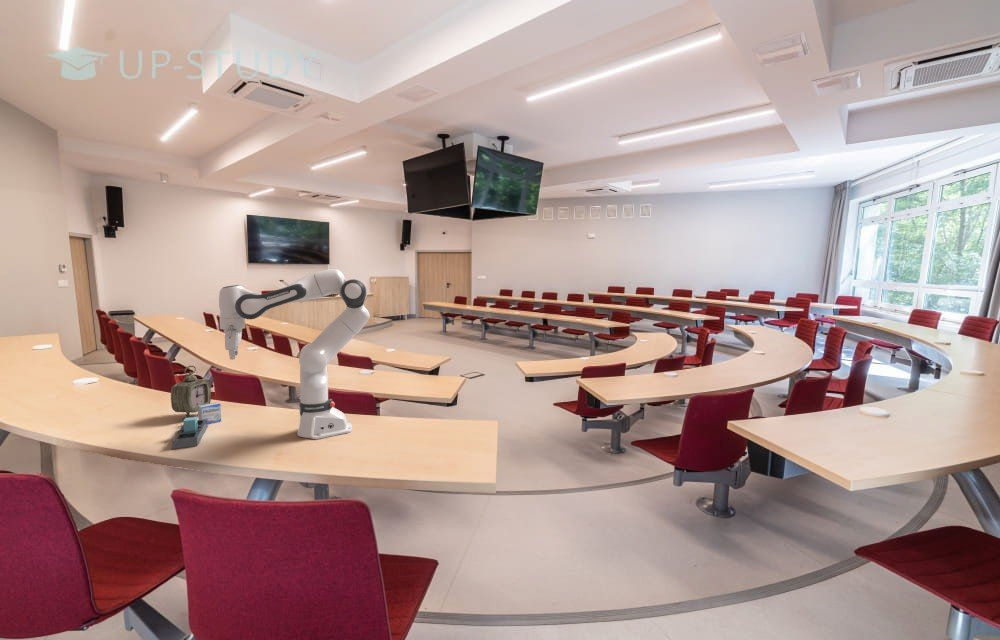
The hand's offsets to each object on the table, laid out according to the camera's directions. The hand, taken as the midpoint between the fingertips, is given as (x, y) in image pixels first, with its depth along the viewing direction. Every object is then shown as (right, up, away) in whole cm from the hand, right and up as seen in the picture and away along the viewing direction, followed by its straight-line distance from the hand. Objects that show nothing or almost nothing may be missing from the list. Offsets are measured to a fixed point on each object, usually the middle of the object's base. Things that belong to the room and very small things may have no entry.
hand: (233, 357), depth 173 cm
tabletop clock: (-36, -31, +25) cm, 54 cm away
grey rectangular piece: (-19, -34, +1) cm, 39 cm away
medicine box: (-23, -32, +19) cm, 44 cm away
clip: (-19, -34, +1) cm, 39 cm away
